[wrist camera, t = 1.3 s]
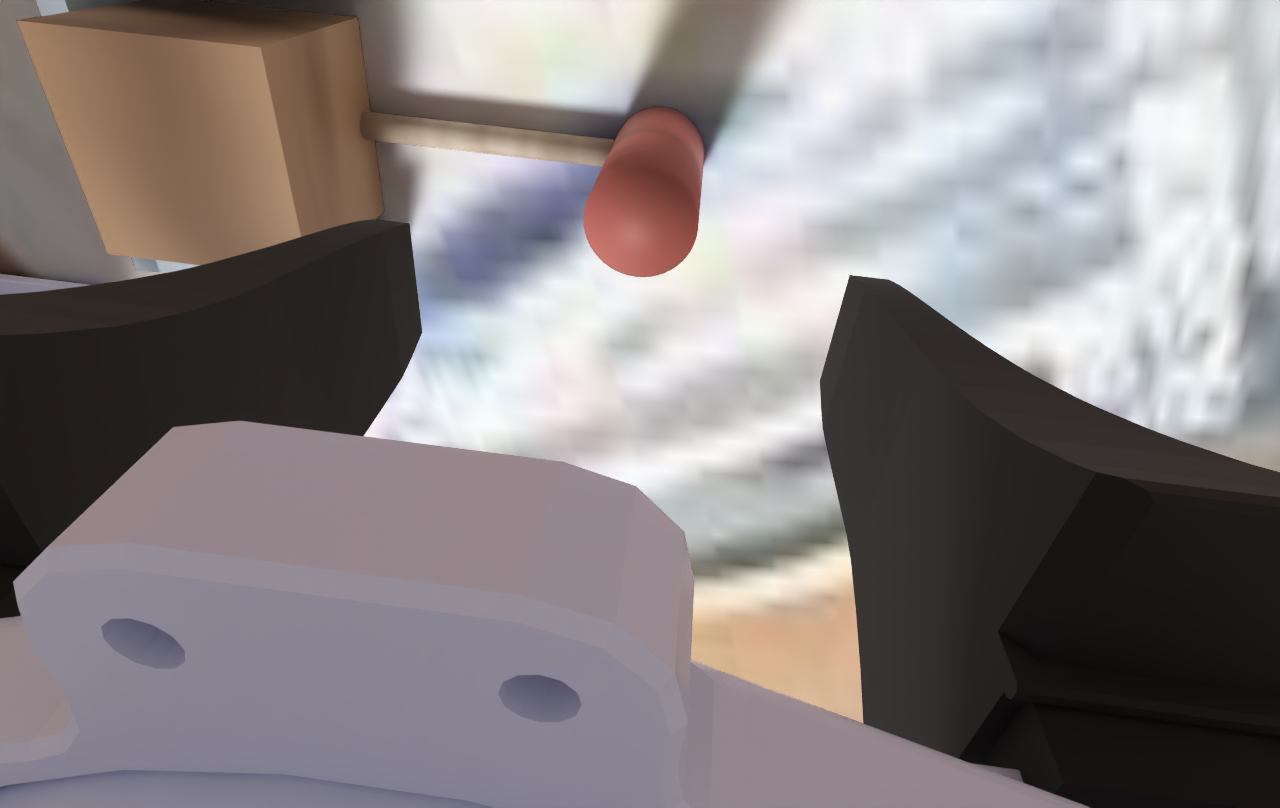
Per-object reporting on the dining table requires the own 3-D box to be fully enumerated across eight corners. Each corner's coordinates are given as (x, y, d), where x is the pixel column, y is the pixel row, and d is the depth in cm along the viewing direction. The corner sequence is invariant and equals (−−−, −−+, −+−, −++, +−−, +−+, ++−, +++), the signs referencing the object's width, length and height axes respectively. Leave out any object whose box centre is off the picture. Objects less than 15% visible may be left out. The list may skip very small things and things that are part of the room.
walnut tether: (217, 191, 21) (92, 262, 16) (163, -4, 18) (-5, 23, 14) (691, 247, 20) (683, 334, 16) (717, 56, 17) (714, 104, 13)
